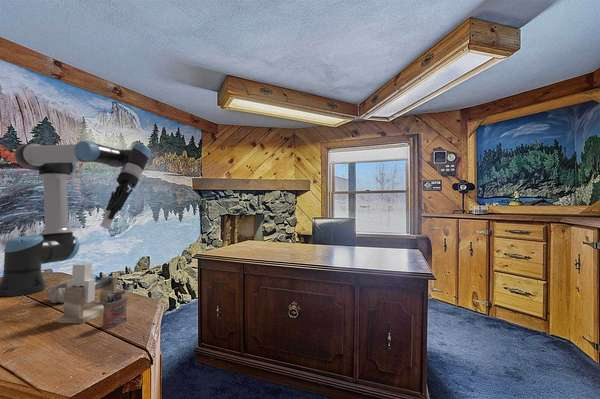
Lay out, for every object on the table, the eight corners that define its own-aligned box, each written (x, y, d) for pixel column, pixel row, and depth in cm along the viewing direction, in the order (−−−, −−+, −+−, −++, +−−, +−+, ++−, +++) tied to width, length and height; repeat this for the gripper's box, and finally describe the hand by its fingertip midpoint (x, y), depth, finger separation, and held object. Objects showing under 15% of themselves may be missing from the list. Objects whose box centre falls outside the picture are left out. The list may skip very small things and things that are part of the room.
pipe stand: (99, 304, 109) (100, 275, 109) (120, 305, 109) (121, 276, 109) (57, 322, 91) (59, 288, 91) (82, 323, 91) (84, 288, 91)
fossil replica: (47, 307, 105) (81, 304, 113) (52, 284, 106) (85, 282, 113) (41, 298, 113) (73, 295, 120) (45, 276, 113) (77, 275, 121)
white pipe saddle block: (73, 299, 96) (75, 263, 97) (94, 300, 96) (96, 263, 97) (66, 302, 93) (68, 264, 94) (87, 303, 93) (89, 265, 94)
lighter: (108, 330, 86) (110, 295, 86) (98, 328, 87) (100, 294, 87) (129, 320, 94) (130, 288, 94) (120, 319, 95) (121, 288, 95)
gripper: (146, 177, 123) (122, 229, 112) (130, 183, 130) (106, 232, 119) (129, 168, 118) (102, 221, 107) (113, 174, 125) (87, 225, 114)
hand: (104, 227), depth 113 cm, fingers closed
